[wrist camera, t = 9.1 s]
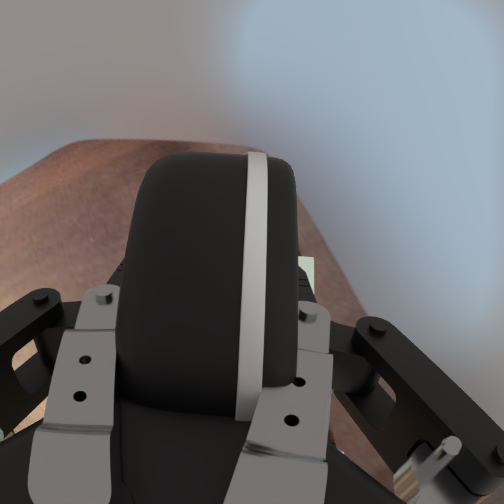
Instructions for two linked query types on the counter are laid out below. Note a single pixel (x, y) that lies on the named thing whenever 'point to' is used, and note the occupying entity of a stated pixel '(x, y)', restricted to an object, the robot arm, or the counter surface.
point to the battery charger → (210, 285)
